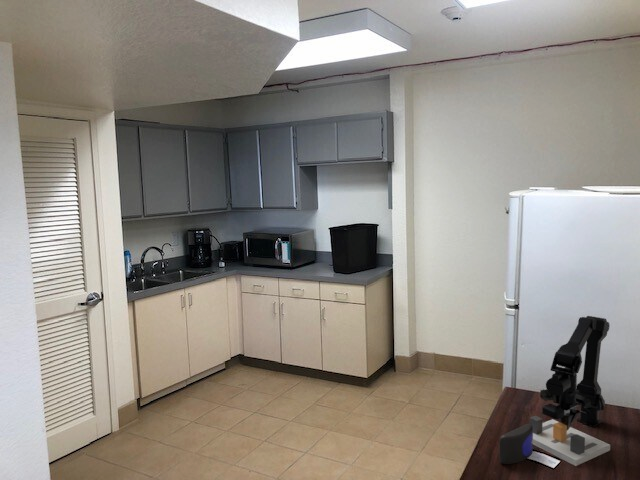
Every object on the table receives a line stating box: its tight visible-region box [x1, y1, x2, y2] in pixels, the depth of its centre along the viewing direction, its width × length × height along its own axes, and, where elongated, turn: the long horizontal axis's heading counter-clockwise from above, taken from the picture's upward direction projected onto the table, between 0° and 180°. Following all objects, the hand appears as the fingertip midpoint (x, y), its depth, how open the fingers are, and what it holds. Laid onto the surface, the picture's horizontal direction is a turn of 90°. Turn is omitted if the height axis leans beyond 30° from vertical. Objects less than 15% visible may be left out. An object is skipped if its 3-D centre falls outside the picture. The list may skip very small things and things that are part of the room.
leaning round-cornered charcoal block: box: [498, 423, 534, 465], centre depth 171 cm, size 16×5×9 cm, turn 124°
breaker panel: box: [529, 415, 611, 467], centre depth 179 cm, size 18×22×7 cm
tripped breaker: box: [553, 421, 567, 442], centre depth 178 cm, size 3×3×5 cm
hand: (566, 430), depth 180 cm, fingers closed
